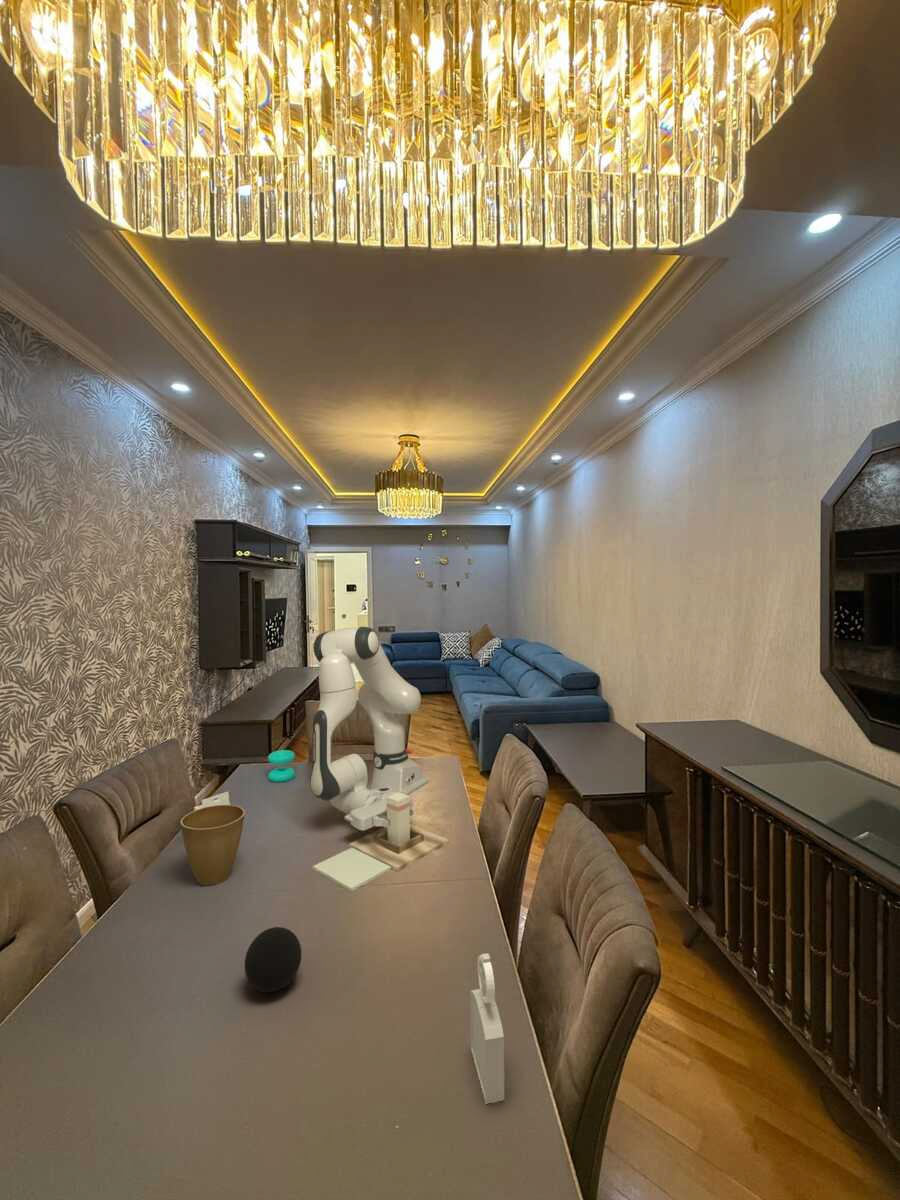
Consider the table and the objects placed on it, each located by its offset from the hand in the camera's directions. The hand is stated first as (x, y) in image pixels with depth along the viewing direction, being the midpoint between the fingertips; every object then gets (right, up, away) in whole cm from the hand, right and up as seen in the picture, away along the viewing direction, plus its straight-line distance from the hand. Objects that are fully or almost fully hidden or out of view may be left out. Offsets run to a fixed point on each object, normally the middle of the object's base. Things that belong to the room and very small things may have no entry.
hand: (400, 818), depth 151 cm
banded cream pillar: (-1, -8, +1) cm, 8 cm away
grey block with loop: (+20, -10, -71) cm, 74 cm away
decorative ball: (-19, -10, -52) cm, 56 cm away
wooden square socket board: (-1, -8, +1) cm, 8 cm away
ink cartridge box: (-55, -9, +2) cm, 55 cm away
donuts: (-51, -7, +55) cm, 76 cm away
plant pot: (-46, -9, -15) cm, 50 cm away
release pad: (-12, -8, -12) cm, 19 cm away
